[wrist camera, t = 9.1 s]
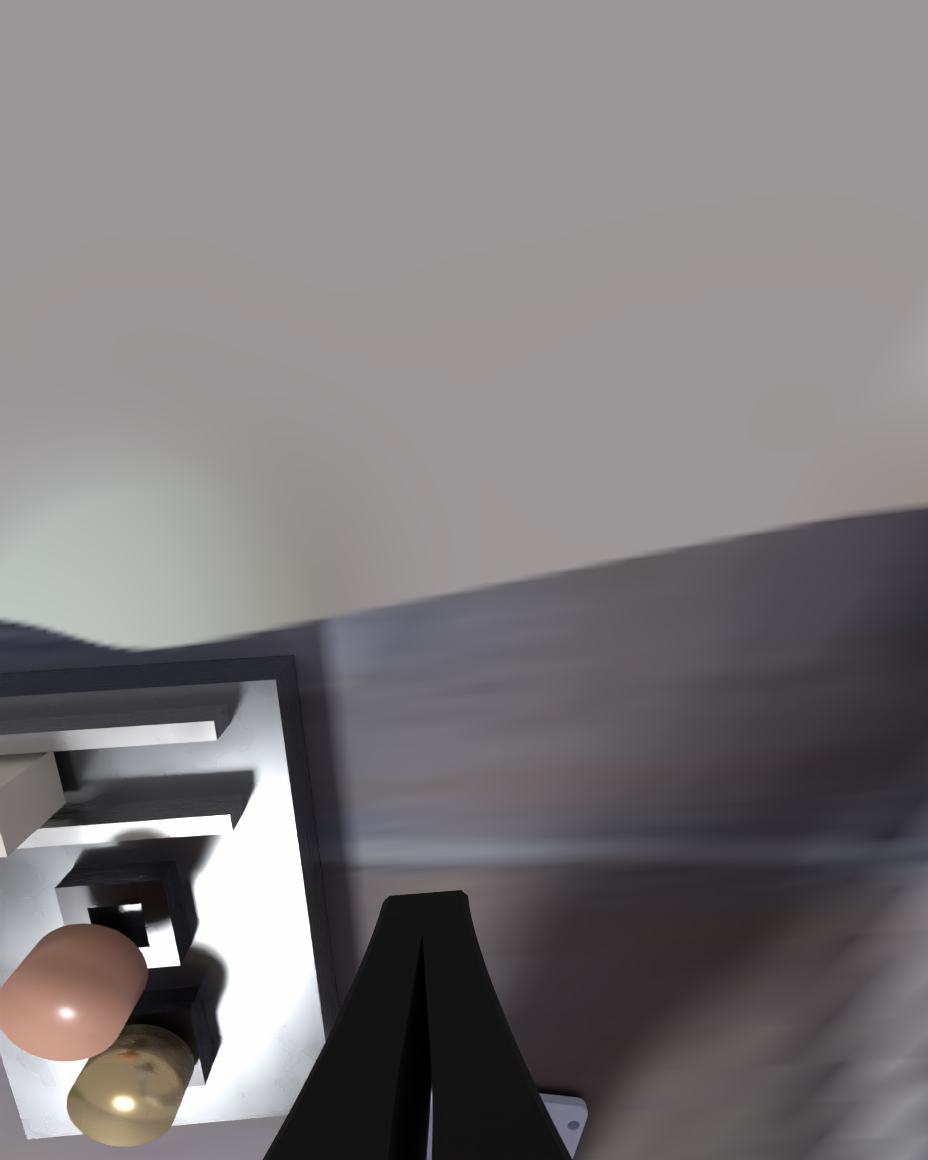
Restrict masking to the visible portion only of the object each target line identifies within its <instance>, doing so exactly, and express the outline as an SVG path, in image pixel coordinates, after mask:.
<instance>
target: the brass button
mask: <svg viewBox="0 0 928 1160" xmlns="http://www.w3.org/2000/svg"><path fill="white" fill-rule="evenodd" d="M193 1071H194V1058H193V1055H192V1052H191V1050H190V1048H189V1047H188V1045H187V1044H186V1043H185V1042H184V1041H183V1040H182V1039H181V1038H180V1037H179V1036H177V1035H176V1034H174V1033H173V1032H171V1031H169V1030H167V1029H164V1028H161V1027H158V1026H154V1025H148V1024H133V1025H127V1026H124V1027H123V1029H122V1031H121V1032H120V1034H119V1036H118V1038H117V1039H116V1040H115V1042H114V1043H113V1044H112V1045H111V1046H110V1047H109V1048H108V1049H106V1050H105V1051H103V1052H102V1053H100V1054H98V1055H96V1056H93V1057H90V1058H89V1059H88V1060H87V1062H86V1064H85V1065H84V1067H83V1069H82V1071H81V1072H80V1074H79V1076H78V1077H77V1079H76V1081H75V1083H74V1084H73V1086H72V1088H71V1089H70V1091H69V1094H68V1096H67V1112H68V1115H69V1117H70V1119H71V1121H72V1123H73V1124H74V1125H75V1126H76V1128H78V1129H79V1130H80V1131H81V1132H82V1133H83V1134H85V1135H86V1136H88V1137H89V1138H91V1139H93V1140H95V1141H97V1142H100V1143H103V1144H107V1145H112V1146H121V1147H129V1146H138V1145H142V1144H146V1143H149V1142H151V1141H153V1140H156V1139H157V1138H159V1137H160V1136H162V1135H163V1134H164V1133H165V1132H167V1130H168V1129H169V1128H170V1127H171V1125H172V1124H173V1122H174V1119H175V1117H176V1114H177V1112H178V1109H179V1107H180V1104H181V1102H182V1100H183V1097H184V1095H185V1092H186V1090H187V1087H188V1085H189V1082H190V1080H191V1077H192V1075H193Z"/></svg>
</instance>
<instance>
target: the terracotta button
mask: <svg viewBox="0 0 928 1160" xmlns="http://www.w3.org/2000/svg"><path fill="white" fill-rule="evenodd" d="M147 980H148V968H147V963H146V960H145V958H144V956H143V954H142V952H141V951H140V949H139V948H138V947H137V946H136V945H135V943H133V942H132V941H131V940H130V939H129V938H127V937H126V936H125V935H123V934H122V933H120V932H119V931H117V930H115V929H111V928H108V927H105V926H101V925H96V924H87V923H81V924H71V925H66V926H63V927H60V928H57V929H55V930H53V931H51V932H50V933H48V934H47V935H45V936H44V937H43V938H42V939H41V940H40V941H39V942H38V943H37V944H36V946H35V947H34V948H33V949H32V950H31V952H30V953H29V954H28V955H27V956H26V958H25V959H24V960H23V961H22V962H21V964H20V965H19V966H18V967H17V968H16V970H15V971H14V972H13V973H12V974H11V976H10V977H9V978H8V979H7V980H6V982H5V983H4V984H3V986H2V987H1V988H0V1028H1V1030H2V1031H3V1033H4V1034H5V1035H6V1037H7V1038H8V1039H9V1040H10V1041H11V1042H12V1043H14V1044H15V1045H16V1046H17V1047H19V1048H20V1049H22V1050H24V1051H25V1052H27V1053H30V1054H32V1055H34V1056H37V1057H40V1058H43V1059H47V1060H53V1061H63V1062H67V1061H78V1060H83V1059H88V1058H90V1057H93V1056H96V1055H98V1054H100V1053H102V1052H103V1051H105V1050H106V1049H108V1048H109V1047H110V1046H111V1045H112V1044H113V1043H114V1042H115V1040H116V1039H117V1038H118V1036H119V1034H120V1032H121V1031H122V1029H123V1027H124V1025H125V1023H126V1022H127V1020H128V1018H129V1016H130V1014H131V1013H132V1011H133V1009H134V1007H135V1005H136V1004H137V1002H138V1000H139V998H140V996H141V995H142V993H143V991H144V989H145V987H146V984H147Z"/></svg>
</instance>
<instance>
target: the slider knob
mask: <svg viewBox="0 0 928 1160" xmlns="http://www.w3.org/2000/svg"><path fill="white" fill-rule="evenodd" d="M65 804H66V801H65V797H64V793H63V789H62V785H61V781H60V777H59V773H58V769H57V765H56V760H55V756H54V752H38V753H24V754H9V755H0V857H8V856H9V855H10V854H11V853H12V852H13V851H14V850H15V849H16V848H18V847H19V846H20V845H21V844H22V843H23V842H24V841H25V840H26V839H27V838H28V837H30V836H31V835H32V834H33V833H34V832H35V831H36V830H37V829H38V828H39V827H40V826H42V825H43V824H44V823H45V822H46V821H47V820H48V819H49V818H50V817H51V816H52V815H54V814H55V813H56V812H57V811H58V810H59V809H60V808H61V807H62V806H63V805H65Z"/></svg>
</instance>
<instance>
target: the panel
mask: <svg viewBox="0 0 928 1160" xmlns="http://www.w3.org/2000/svg"><path fill="white" fill-rule="evenodd" d="M38 752H54V756H55V760H56V765H57V769H58V773H59V777H60V781H61V785H62V789H63V793H64V797H65V801H66V804H65V805H63V806H62V807H61V808H60V809H59V810H58V811H57V812H56V813H55V814H54V815H52V816H51V817H50V818H49V819H48V820H47V821H46V822H45V823H44V824H43V825H42V826H40V827H39V828H38V829H37V830H36V831H35V832H34V833H33V834H32V835H31V836H30V837H28V838H27V839H26V840H25V841H24V842H23V843H22V844H21V845H20V846H19V847H18V848H16V849H15V850H14V851H13V852H12V853H11V854H10V855H9V856H8V857H0V988H1V987H2V986H3V984H4V983H5V982H6V980H7V979H8V978H9V977H10V976H11V974H12V973H13V972H14V971H15V970H16V968H17V967H18V966H19V965H20V964H21V962H22V961H23V960H24V959H25V958H26V956H27V955H28V954H29V953H30V952H31V950H32V949H33V948H34V947H35V946H36V944H37V943H38V942H39V941H40V940H41V939H42V938H43V937H44V936H45V935H47V934H48V933H50V932H51V931H53V930H55V929H57V928H60V927H63V926H66V925H71V924H81V923H87V924H96V925H101V926H105V927H108V928H111V929H115V930H117V931H119V932H120V933H122V934H123V935H125V936H126V937H127V938H129V939H130V940H131V941H132V942H133V943H135V945H136V946H137V947H138V948H139V949H140V951H141V952H142V954H143V956H144V958H145V960H146V963H147V968H148V980H147V984H146V987H145V989H144V991H143V993H142V995H141V996H140V998H139V1000H138V1002H137V1004H136V1005H135V1007H134V1009H133V1011H132V1013H131V1014H130V1016H129V1018H128V1020H127V1022H126V1023H125V1025H124V1026H127V1025H133V1024H148V1025H154V1026H158V1027H161V1028H164V1029H167V1030H169V1031H171V1032H173V1033H174V1034H176V1035H177V1036H179V1037H180V1038H181V1039H182V1040H183V1041H184V1042H185V1043H186V1044H187V1045H188V1047H189V1048H190V1050H191V1052H192V1055H193V1058H194V1071H193V1075H192V1077H191V1080H190V1082H189V1085H188V1087H187V1090H186V1092H185V1095H184V1097H183V1100H182V1102H181V1104H180V1107H179V1109H178V1112H177V1114H176V1117H175V1119H174V1122H173V1124H172V1125H171V1126H175V1125H186V1124H196V1123H207V1122H218V1121H228V1120H239V1119H250V1118H261V1117H271V1116H282V1115H288V1114H289V1112H290V1110H291V1108H292V1106H293V1104H294V1103H295V1101H296V1099H297V1097H298V1095H299V1093H300V1091H301V1089H302V1087H303V1085H304V1083H305V1081H306V1079H307V1077H308V1075H309V1073H310V1071H311V1069H312V1068H313V1066H314V1064H315V1062H316V1060H317V1058H318V1056H319V1054H320V1052H321V1050H322V1048H323V1046H324V1044H325V1042H326V1040H327V1038H328V1036H329V1034H330V1032H331V1030H332V1028H333V1026H334V1023H335V1021H336V1019H337V1017H338V1015H339V1005H338V997H337V990H336V982H335V974H334V966H333V958H332V951H331V943H330V935H329V927H328V919H327V911H326V904H325V896H324V888H323V880H322V872H321V864H320V857H319V849H318V841H317V833H316V825H315V817H314V810H313V802H312V794H311V786H310V778H309V771H308V763H307V755H306V747H305V739H304V731H303V724H302V716H301V708H300V700H299V692H298V684H297V677H296V669H295V661H294V655H292V656H276V657H260V658H244V659H228V660H212V661H196V662H180V663H164V664H148V665H132V666H116V667H100V668H84V669H68V670H52V671H36V672H20V673H4V674H0V755H9V754H24V753H38ZM0 1054H1V1057H2V1060H3V1063H4V1066H5V1069H6V1073H7V1076H8V1079H9V1082H10V1085H11V1088H12V1092H13V1095H14V1098H15V1101H16V1104H17V1107H18V1111H19V1114H20V1117H21V1120H22V1123H23V1127H24V1130H25V1133H26V1136H27V1139H35V1138H46V1137H57V1136H68V1135H78V1134H83V1133H82V1132H81V1131H80V1130H79V1129H78V1128H76V1126H75V1125H74V1124H73V1123H72V1121H71V1119H70V1117H69V1115H68V1112H67V1096H68V1094H69V1091H70V1089H71V1088H72V1086H73V1084H74V1083H75V1081H76V1079H77V1077H78V1076H79V1074H80V1072H81V1071H82V1069H83V1067H84V1065H85V1064H86V1062H87V1060H88V1059H89V1058H88V1059H83V1060H78V1061H67V1062H63V1061H53V1060H47V1059H43V1058H40V1057H37V1056H34V1055H32V1054H30V1053H27V1052H25V1051H24V1050H22V1049H20V1048H19V1047H17V1046H16V1045H15V1044H14V1043H12V1042H11V1041H10V1040H9V1039H8V1038H7V1037H6V1035H5V1034H4V1033H3V1031H2V1030H1V1028H0Z"/></svg>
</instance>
